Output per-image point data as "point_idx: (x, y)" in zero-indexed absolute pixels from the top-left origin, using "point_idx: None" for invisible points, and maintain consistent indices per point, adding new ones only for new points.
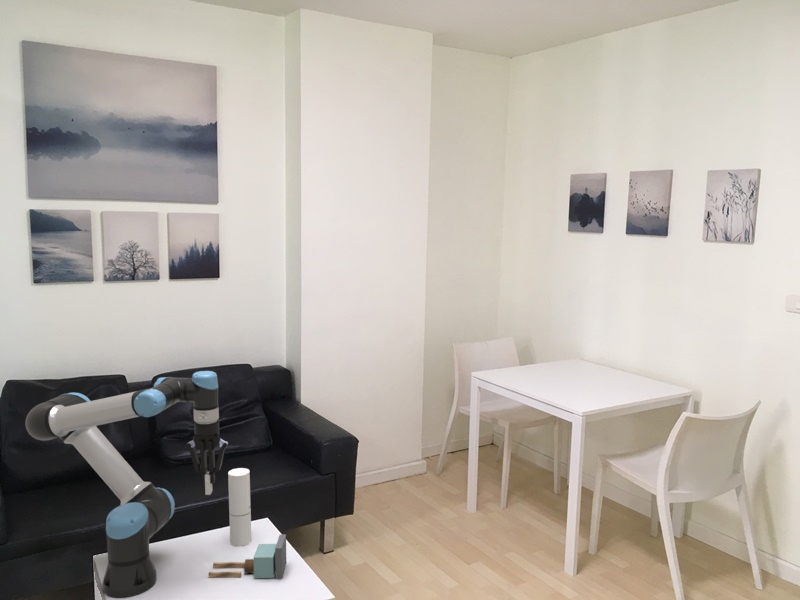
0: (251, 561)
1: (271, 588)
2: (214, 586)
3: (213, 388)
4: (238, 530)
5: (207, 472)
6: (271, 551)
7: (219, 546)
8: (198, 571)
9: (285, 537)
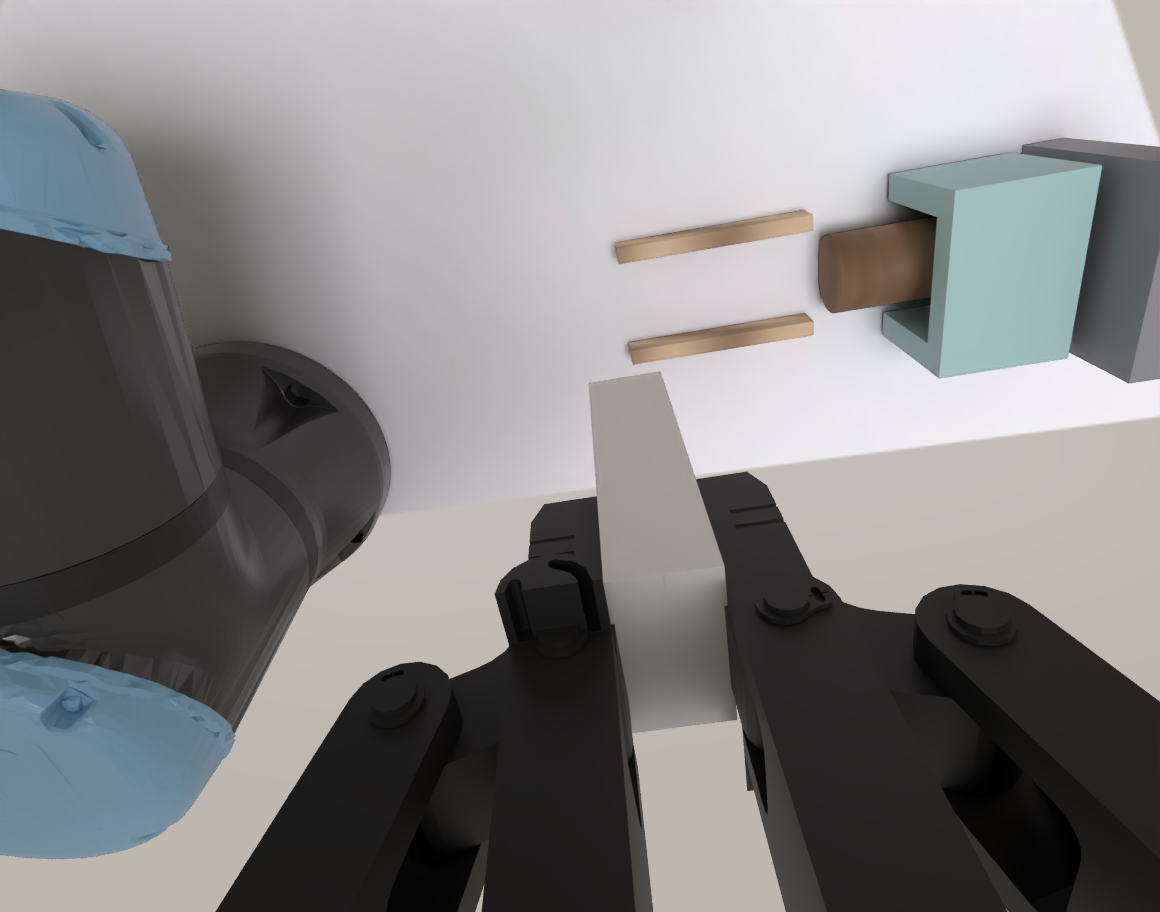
0: (884, 290)
1: (982, 400)
2: (690, 422)
3: None
4: None
5: (632, 615)
6: (1057, 287)
7: None
8: (546, 301)
9: None
